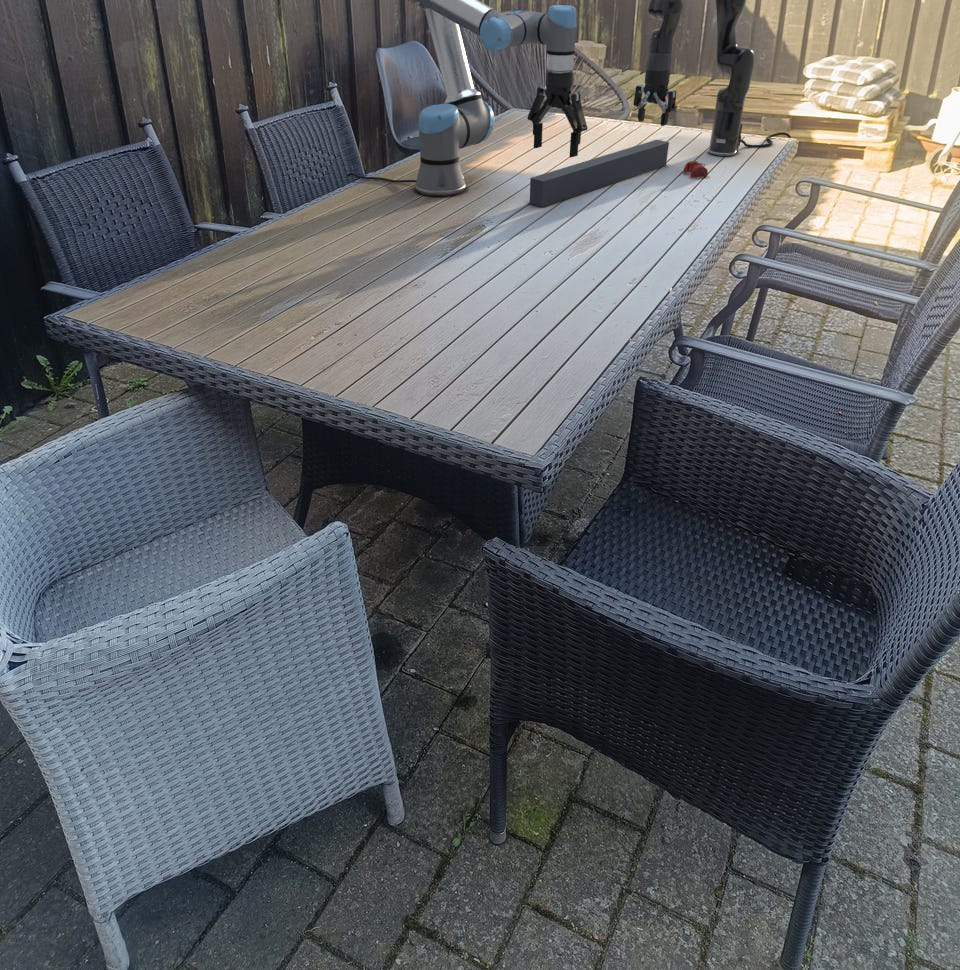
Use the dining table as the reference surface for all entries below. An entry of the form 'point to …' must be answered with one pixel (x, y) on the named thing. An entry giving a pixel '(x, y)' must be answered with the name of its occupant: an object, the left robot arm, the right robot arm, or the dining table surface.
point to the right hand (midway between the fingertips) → (651, 123)
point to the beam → (597, 173)
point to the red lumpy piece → (696, 169)
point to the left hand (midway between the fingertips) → (555, 151)
